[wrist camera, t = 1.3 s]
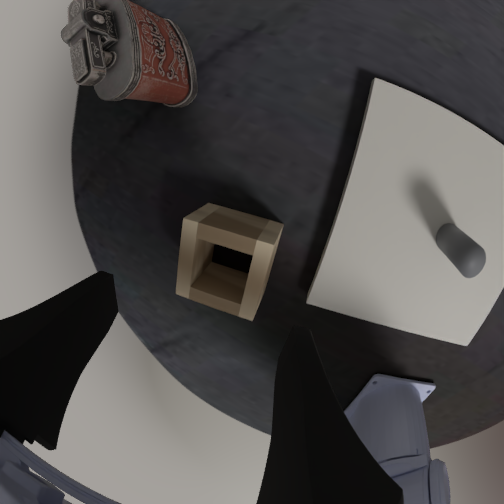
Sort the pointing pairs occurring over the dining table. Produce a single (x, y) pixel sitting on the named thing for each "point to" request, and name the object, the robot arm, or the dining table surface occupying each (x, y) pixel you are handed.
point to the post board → (417, 222)
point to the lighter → (129, 53)
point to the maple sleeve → (218, 276)
